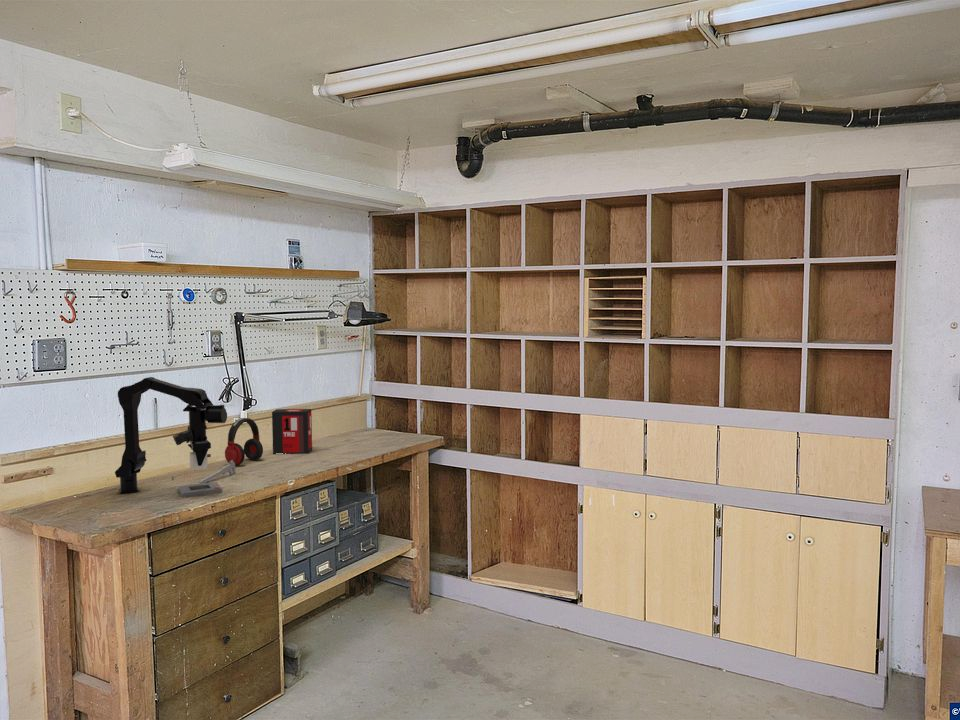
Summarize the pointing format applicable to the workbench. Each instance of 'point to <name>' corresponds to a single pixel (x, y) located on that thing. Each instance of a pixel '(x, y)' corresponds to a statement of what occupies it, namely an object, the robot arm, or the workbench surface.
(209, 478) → the caliper
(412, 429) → the workbench surface
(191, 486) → the socket
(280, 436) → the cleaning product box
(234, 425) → the headphones
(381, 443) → the workbench surface
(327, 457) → the workbench surface
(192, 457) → the plug
